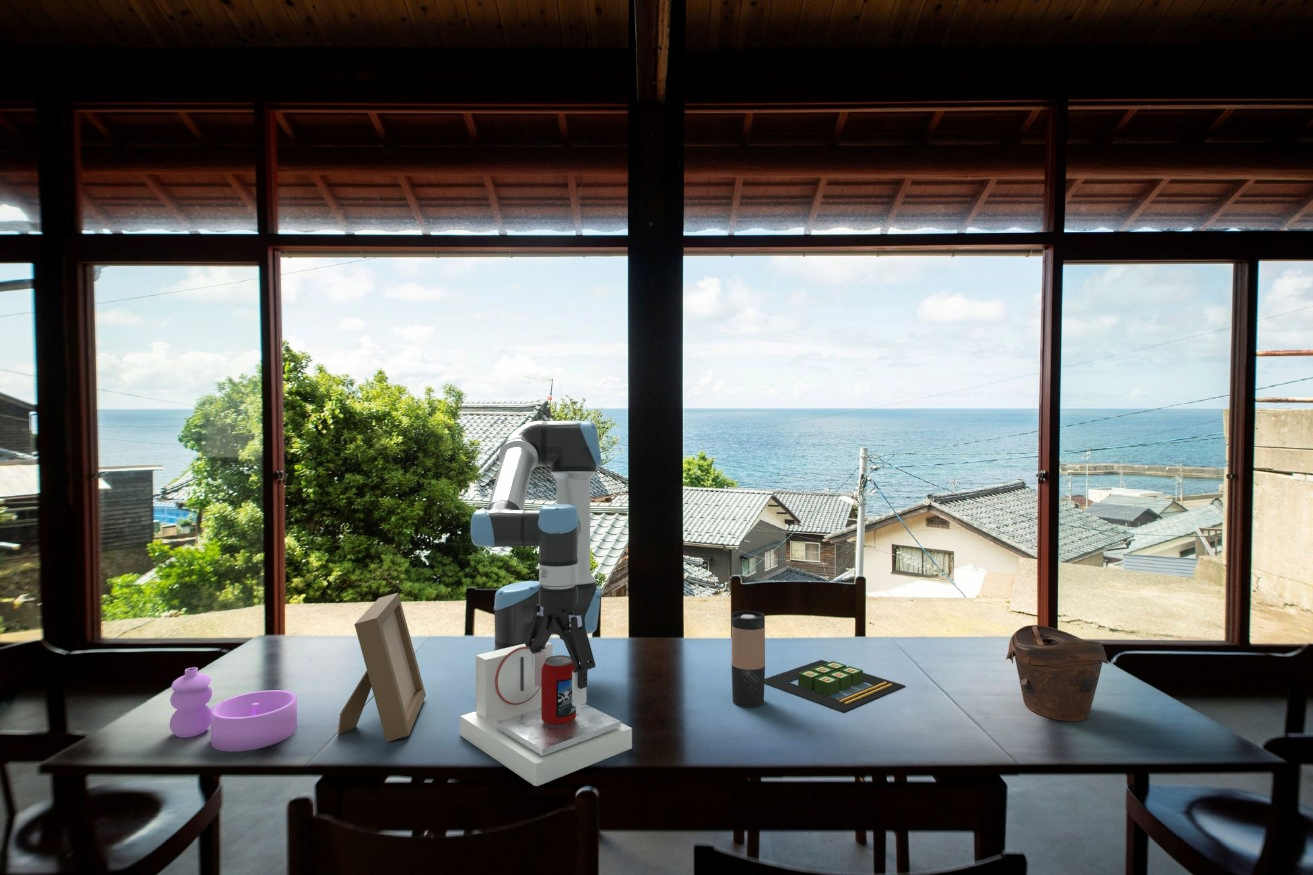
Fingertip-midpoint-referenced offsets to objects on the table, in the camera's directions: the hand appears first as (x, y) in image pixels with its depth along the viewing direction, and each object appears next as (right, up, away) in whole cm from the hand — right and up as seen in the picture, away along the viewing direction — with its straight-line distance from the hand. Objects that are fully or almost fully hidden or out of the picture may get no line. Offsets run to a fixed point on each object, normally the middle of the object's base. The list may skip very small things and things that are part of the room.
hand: (558, 694), depth 137 cm
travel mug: (+40, -11, +25) cm, 48 cm away
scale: (-3, -11, +4) cm, 12 cm away
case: (+108, -11, +20) cm, 110 cm away
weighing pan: (0, -6, 0) cm, 7 cm away
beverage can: (0, -6, 0) cm, 6 cm away
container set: (-68, -11, +8) cm, 69 cm away
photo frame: (-40, -11, +14) cm, 44 cm away
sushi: (+62, -11, +36) cm, 72 cm away
